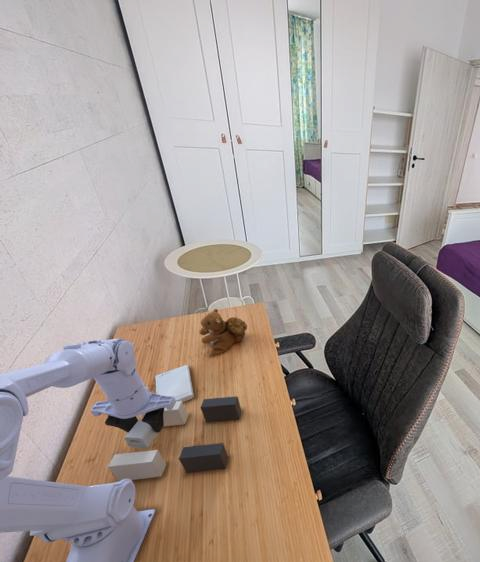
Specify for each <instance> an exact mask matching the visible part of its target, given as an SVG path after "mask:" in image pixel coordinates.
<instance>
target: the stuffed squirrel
mask: <svg viewBox="0 0 480 562" xmlns="http://www.w3.org/2000/svg"><path fill="white" fill-rule="evenodd" d="M200 324H201V327H202V328H201V329H200V330H198V331H199V334H200V335H201V336H203V337H202V338H201V343H202V344H205V345H206V344H209V343H210V345H211V346H212V348H211V349H210V351H209V355H210V356H212V357H213V356H216V355H219V354H222V353H225V352H226V351H228V349H230V348H231V346H233V344H235V343H238V342H240V341H242V340H243V339H244V338H245V335H246V330H247V329H248V325H247V323H246V322H245V321H244V320H242V319H241V318H238V317H237V316H233V317H229V318H228V319H226V321H225V320H223V318H222V316H221V314H220V313H219V310H218V309H217V308H214V309H213V311H210V312H209V313H207V315H206V316H204V317H203V318H202V319H201V320H200Z"/></svg>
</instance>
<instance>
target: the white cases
mask: <svg viewBox="0 0 480 562" xmlns="http://www.w3.org/2000/svg"><path fill="white" fill-rule="evenodd" d="M187 411H188V410H187V409H186V407H185V405H184V402H182V401H176V403H175V405H174V407H173V409H172V410H167V409H166V408H164V414H163V420H164V425H163V427H171V426H181V425H185V424H186V422H187V420H188V418H189V414H188V412H187ZM145 414H146V413H144V414H141V416H142V418H143V417H144V416H145ZM166 466H167V464H166V462H165V460H164V458H163V457H162V455H161V453H160V451H159V450H158V449H152V450H144V451H134V452H125V453H115V454H114V455H113V457H112V458H111V460H110V462H109V463H108V465H107V468H108V469H109V470H110V472H111V473H112V475H114V477H115V478H116V480H117V482H118V481H121V480H123V479H131V480H132V481H135V480H145V479H152V478H160V477H162V475H163V473H164V471H165V469H166Z"/></svg>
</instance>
